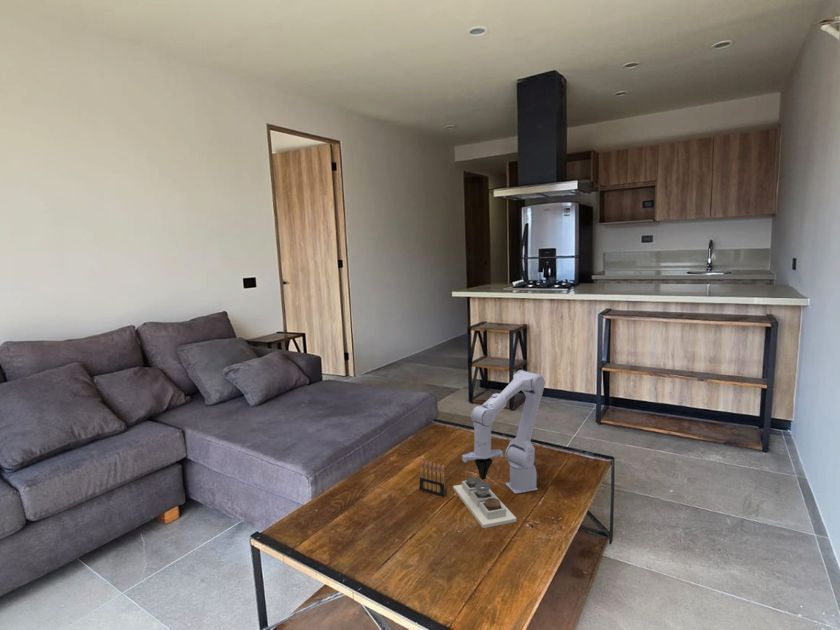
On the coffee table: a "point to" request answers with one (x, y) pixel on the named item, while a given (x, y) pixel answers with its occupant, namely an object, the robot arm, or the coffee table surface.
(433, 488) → the ammunition clip
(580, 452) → the coffee table surface
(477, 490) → the knob steel
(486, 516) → the mount board
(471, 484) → the knob graphite
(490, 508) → the knob walnut
